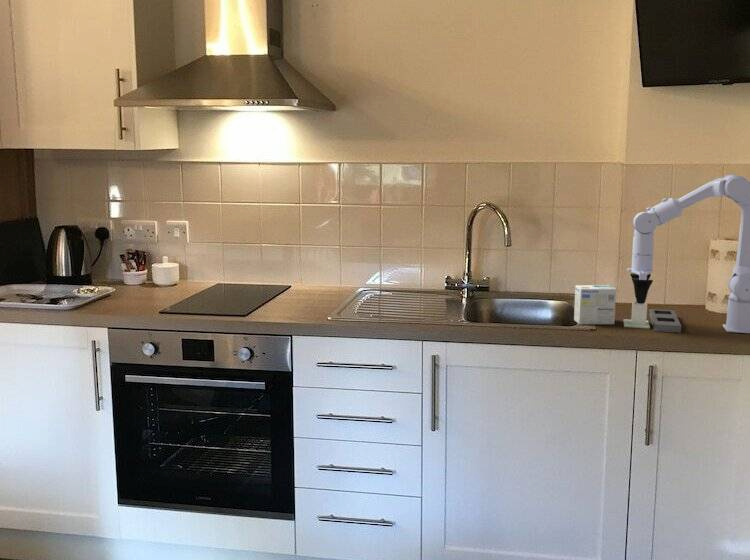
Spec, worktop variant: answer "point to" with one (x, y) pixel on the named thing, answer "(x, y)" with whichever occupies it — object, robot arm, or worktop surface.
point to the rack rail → (665, 321)
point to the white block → (639, 313)
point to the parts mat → (628, 324)
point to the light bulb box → (595, 304)
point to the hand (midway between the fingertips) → (639, 300)
